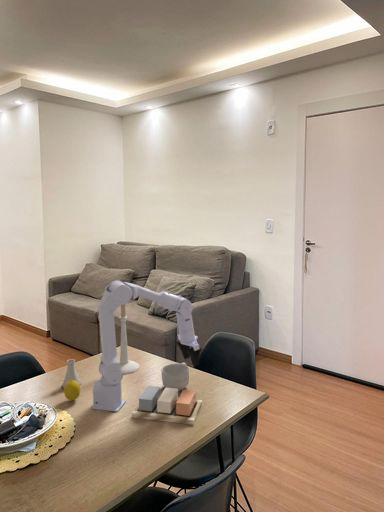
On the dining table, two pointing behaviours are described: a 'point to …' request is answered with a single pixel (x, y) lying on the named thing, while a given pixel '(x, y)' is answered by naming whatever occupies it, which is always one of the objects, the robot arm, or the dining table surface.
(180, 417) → the wooden tray
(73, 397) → the lemon
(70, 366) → the flask
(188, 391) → the terracotta key
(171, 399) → the ivory key
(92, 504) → the dining table surface
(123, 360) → the candlestick
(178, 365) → the teacup
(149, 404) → the grey rectangular block
